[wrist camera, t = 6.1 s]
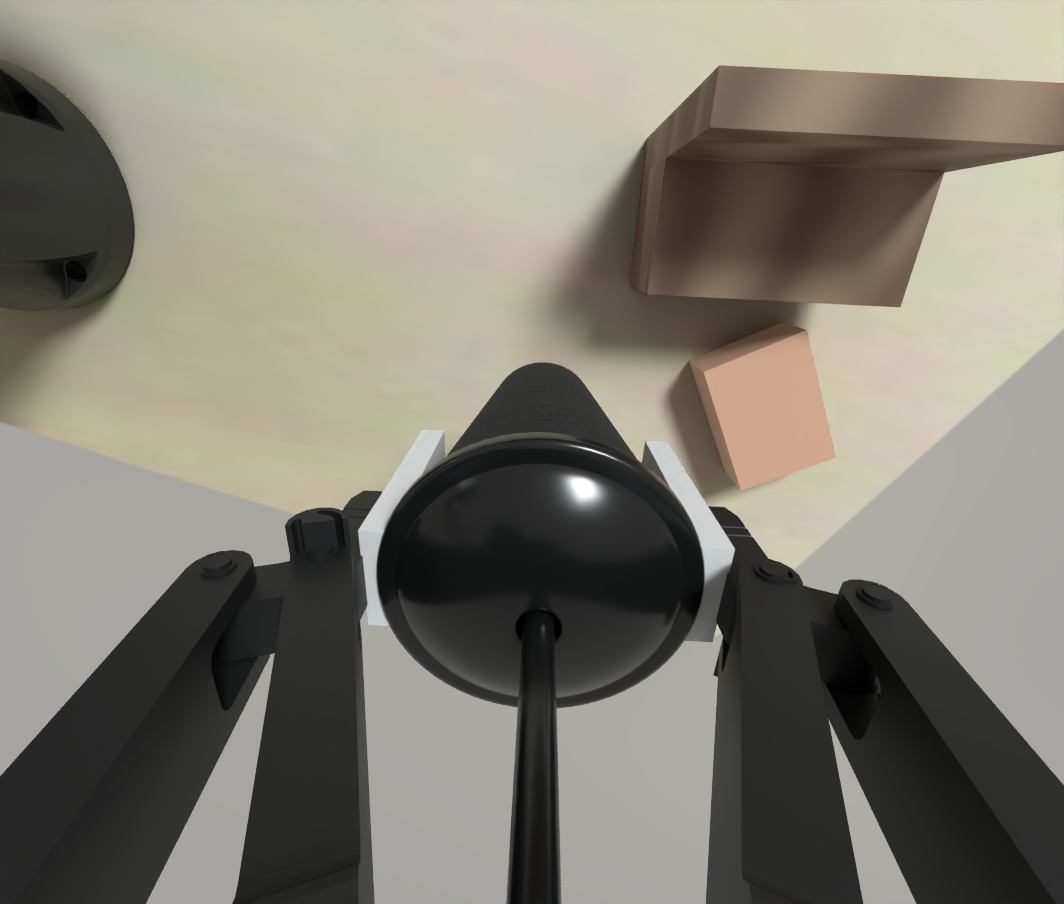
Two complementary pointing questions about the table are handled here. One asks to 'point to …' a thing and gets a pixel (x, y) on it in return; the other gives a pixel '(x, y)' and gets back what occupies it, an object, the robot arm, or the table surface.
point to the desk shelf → (818, 178)
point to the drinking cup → (540, 581)
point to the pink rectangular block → (764, 405)
